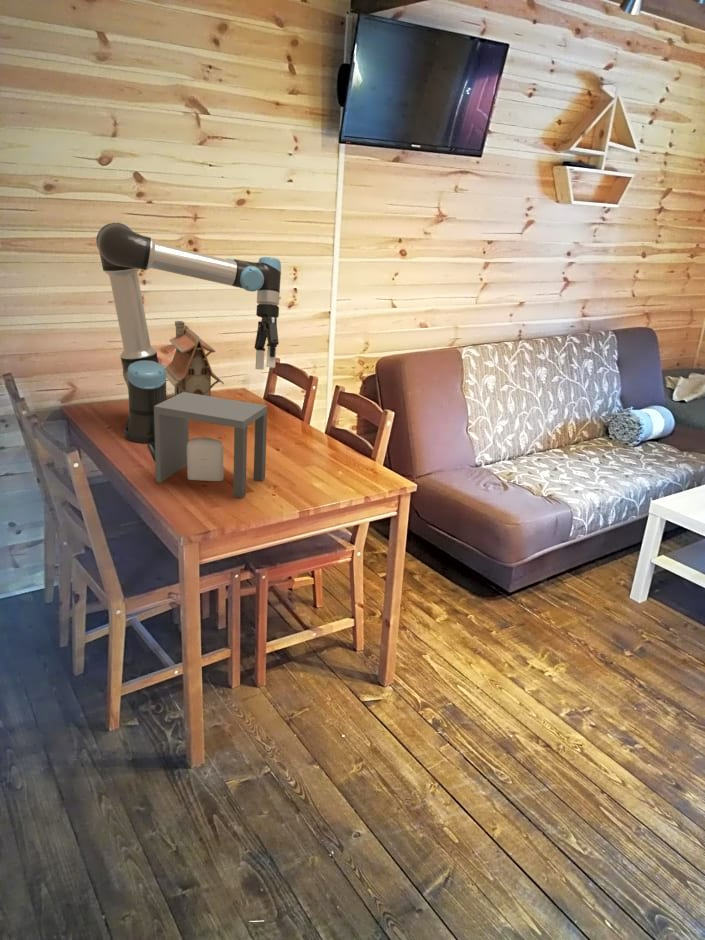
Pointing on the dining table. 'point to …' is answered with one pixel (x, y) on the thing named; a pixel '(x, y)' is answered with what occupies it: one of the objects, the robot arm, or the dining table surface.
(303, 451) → the dining table surface
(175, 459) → the low shelf
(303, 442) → the dining table surface
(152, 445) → the phone
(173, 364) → the miniature house
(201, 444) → the photo printer
